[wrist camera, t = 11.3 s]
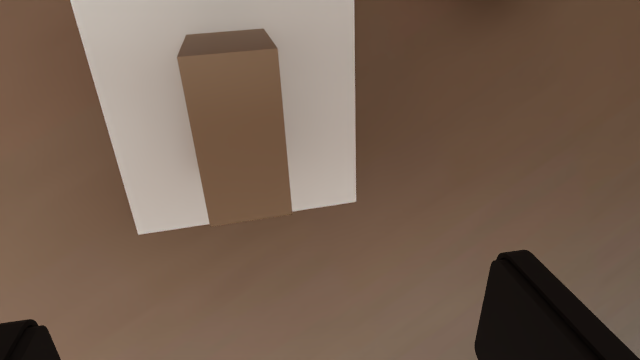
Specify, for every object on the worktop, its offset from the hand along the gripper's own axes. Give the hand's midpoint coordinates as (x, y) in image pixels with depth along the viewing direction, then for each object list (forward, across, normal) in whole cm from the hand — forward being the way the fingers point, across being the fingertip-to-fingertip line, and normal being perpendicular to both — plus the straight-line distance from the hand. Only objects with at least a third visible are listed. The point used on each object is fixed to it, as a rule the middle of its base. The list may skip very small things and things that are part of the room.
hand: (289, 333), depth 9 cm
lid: (+18, +1, 0) cm, 19 cm away
